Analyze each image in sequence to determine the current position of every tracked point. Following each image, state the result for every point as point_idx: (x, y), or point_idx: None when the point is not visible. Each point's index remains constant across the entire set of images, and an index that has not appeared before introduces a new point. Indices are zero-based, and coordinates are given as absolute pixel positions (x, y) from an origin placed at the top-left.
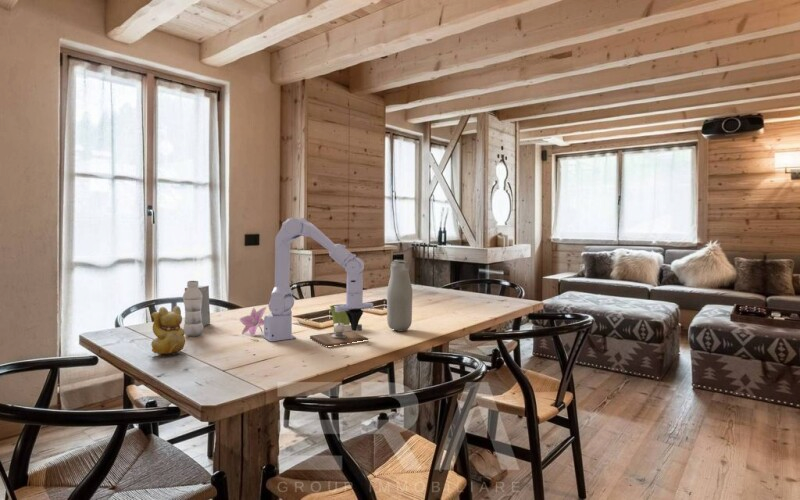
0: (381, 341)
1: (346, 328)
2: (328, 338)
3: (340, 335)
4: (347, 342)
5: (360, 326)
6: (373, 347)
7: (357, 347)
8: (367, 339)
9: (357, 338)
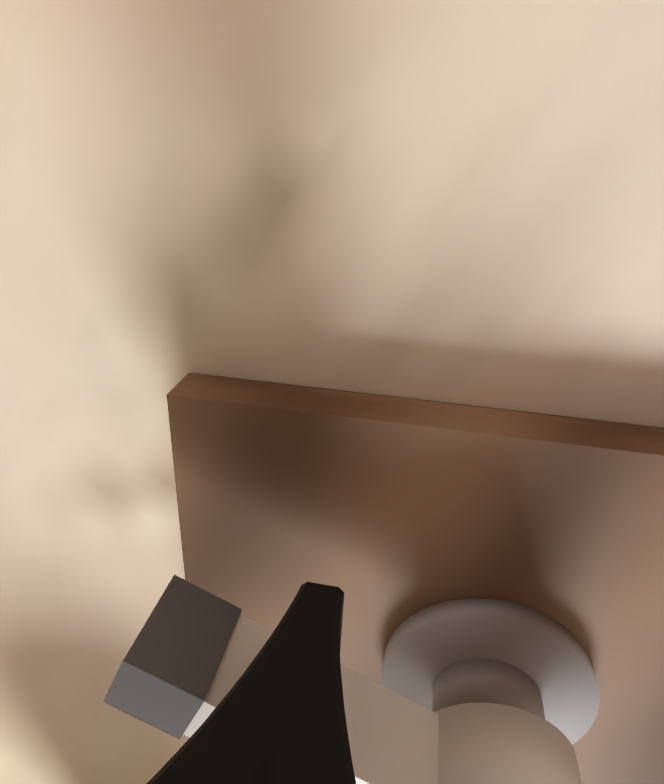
0: (14, 266)
1: (399, 737)
2: (657, 705)
3: (498, 668)
4: (557, 432)
5: (160, 649)
6: (288, 3)
7: (527, 189)
8: (187, 389)
9: (316, 478)
